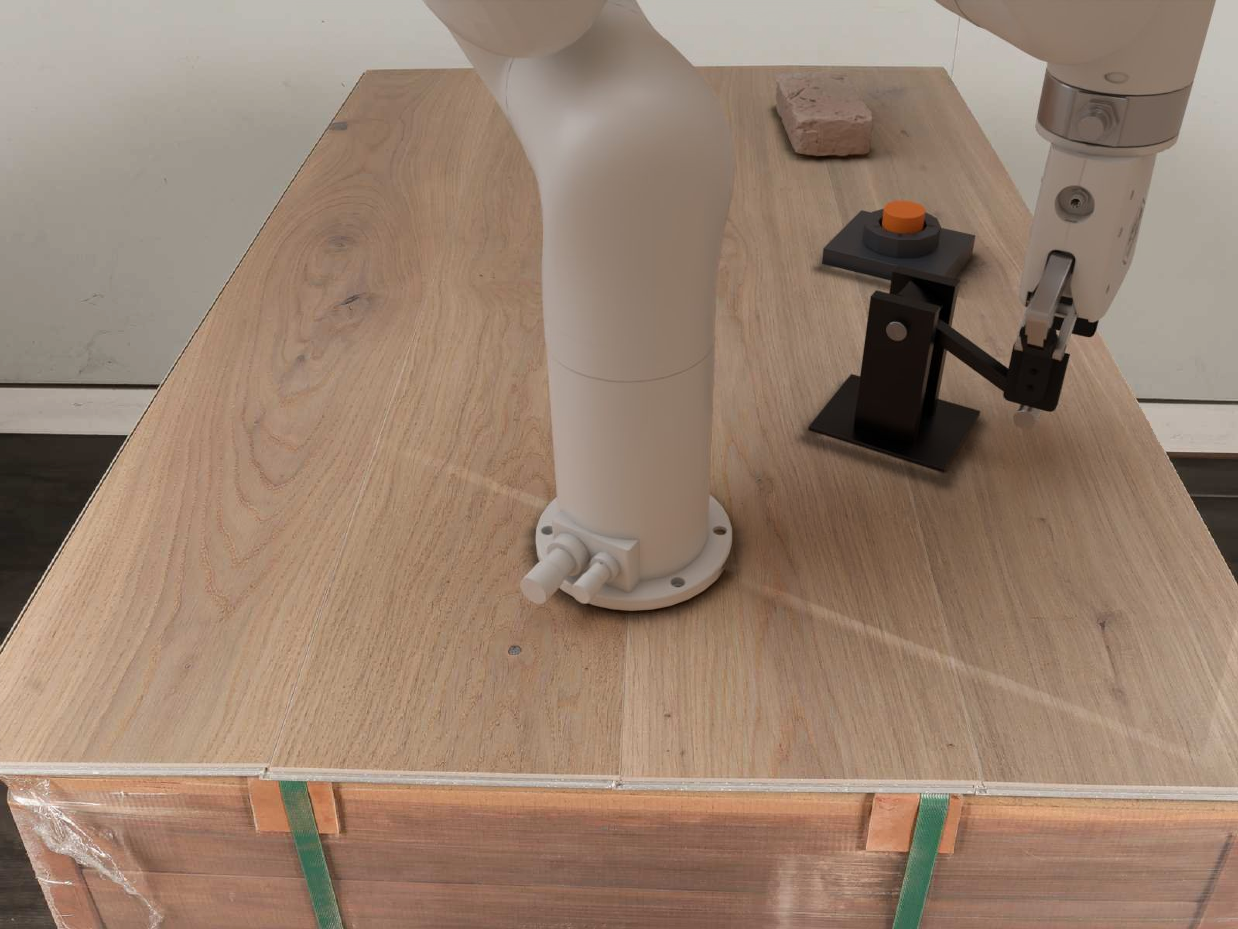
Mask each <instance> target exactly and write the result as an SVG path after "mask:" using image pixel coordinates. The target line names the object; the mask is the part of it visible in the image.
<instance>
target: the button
mask: <svg viewBox="0 0 1238 929" xmlns="http://www.w3.org/2000/svg"><path fill="white" fill-rule="evenodd" d="M883 209H884V211H883V219H882V228H884V229H886V230H888V231H891V232H896V233H900V234H913V233H916V232H920V231H922V230H923V225H924V218H925V212H926V208H925V206H923V205H921V204H920V203H917V202H914V201H909V200H894V201H890V202H887V203H886V204H885V205H884V207H883ZM926 213H927V212H926Z"/></svg>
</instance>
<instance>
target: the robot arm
mask: <svg viewBox="0 0 1238 929" xmlns="http://www.w3.org/2000/svg"><path fill="white" fill-rule="evenodd" d="M422 1H423V3H424V5H425V6H426V7H427V8H428V9H429V10H430V11H431V12H432V14H434V16H435V17H436V18H437V19H438V20H439V21H440V22H441V23H442V24H443V25H444V26H445V27H446V28H447V30H448V31H449V33H450V35H451V36H452V37H453V39H454V41H455V42H456V43H457V45H458V47H459V48H460V50H461V52H463V54H464V56H465V58H467V60H468V62H469V63H470V65H471V66H472V67H473V69H474V71H475V72H476V73H477V75H478V77H479V78H480V79H481V81H482V83H483V84H484V86H485V87H486V88H487V90H488V91H489V93H490V95H491V96H492V97H493V99H494V100H495V102H496V104H497V105H498V107H499V108H500V110H501V111H502V113H503V115H504V116H505V118H506V119H507V121H508V123H509V124H510V126H511V128H512V130H513V131H514V134H515V135H516V137H517V138H518V141H519V143H520V145H521V147H522V148H523V151H524V154H525V156H526V158H527V162H528V163H529V165H530V167H531V169H532V170H533V173H534V176H535V179H536V182H537V187H538V192H539V198H540V205H541V216H542V251H541V252H542V254H541V297H542V298H541V300H542V316H543V318H542V320H543V332H544V343H545V349H546V351H545V352H546V363H547V364H546V365H547V376H548V377H547V378H548V391H549V392H548V393H549V405H550V406H549V407H550V420H551V434H552V447H553V448H552V449H553V460H554V461H553V462H554V474H555V475H554V476H555V489H556V496H555V498H553V500H552V501H550V502H549V504H547V506H546V507H545V509H544V510H543V511H542V513H541V515H540V517H539V520H538V522H537V525H536V528H535V547H536V548H535V549H536V558H537V559H538V562H537V563H536V564H535V565H534V566H533V567H532V568H531V569H530V571H529V572H528V573H527V574H526V575H525V576H524V577H523V578H521V580H520V582H519V589H520V591H521V592H522V595H523V596H524V597H525V598H526V599H527V600H528V601H530V602H531V603H533V604H535V605H544V604H546V602H548V600H550V598H551V597H552V596H553V595H554V594H555V593H556V592H557V591H558V590H559V589H560V590H561V591H563V592H564V593H566V594H567V595H569V596H571V597H573V598H574V600H576V601H577V602H579V603H580V604H583V605H587V604H589V605H591V606H595V607H600V608H605V609H610V610H617V611H629V612H633V611H634V612H635V611H649V610H657V609H661V608H666V607H671V606H674V605H676V604H679V603H682V602H685V601H688V600H691V599H692V598H693V597H696V596H697V595H699V594H700V593H702V592H704V591H705V590H707V589H708V588H709V587H710V586H711V585H713V584H714V583H715V582H716V581H717V580H718V579H719V578H720V576H721V575H722V574H723V572H724V571H725V568H723V566H724V565H725V563H726V561H727V559H728V558H729V556H730V553H731V549H732V545H733V527H732V524H731V521H730V517H729V514H727V511H726V510H725V508H724V507H723V505H722V504H721V503H720V502H719V501H718V500H717V499H716V498H715V497H714V496H713V495H712V494H711V470H712V469H711V468H712V467H711V466H712V442H713V439H712V438H713V415H714V414H713V412H714V389H715V388H714V387H715V386H714V385H715V384H714V383H715V355H716V314H717V292H718V282H719V271H720V270H719V269H720V261H721V253H722V249H723V241H724V236H725V232H726V227H727V222H728V219H729V213H730V209H731V205H732V199H733V192H734V186H735V177H736V176H735V175H736V154H735V147H734V145H735V144H734V139H733V135H732V130H731V127H730V124H729V121H728V117H727V115H726V113H725V111H724V107H722V103H721V102H720V100H719V98H718V96H717V95H716V93H715V91H714V90H713V88H712V87H711V85H710V84H709V83H708V81H707V79H706V78H705V77H704V76H703V75H702V74H701V72H700V71H699V70H698V69H697V68H696V67H695V66H694V65H693V64H692V62H690V61H689V60H688V59H687V57H686V56H684V55H683V53H681V51H680V50H678V48H676V47H675V45H673V44H672V43H671V42H670V41H669V40H668V39H666V38H665V37H664V36H663V35H661V33H660V32H659V31H658V30H657V29H656V28H655V27H654V26H653V25H652V23H651V21H650V20H649V19H648V18H647V16H646V14H645V13H644V11H643V9H642V7H641V6H640V4H639V2H638V1H637V0H422ZM934 2H936V3H937V4H938V5H939V6H941V7H942V8H944V9H946V10H947V11H950V12H951V13H953V14H955V15H957V16H958V17H960V18H962V19H963V20H965V21H967V22H969V23H970V24H972V25H974V26H976V27H978V28H980V29H984V30H986V31H987V32H989V33H990V34H993V35H995V37H998V38H1000V39H1001V40H1002V41H1005V42H1007V44H1010V45H1011V46H1013V47H1014V48H1016V49H1018V50H1020V51H1022V52H1023V53H1025V54H1027V55H1028V56H1031V57H1033V58H1034V59H1036V60H1039V61H1041V62H1045V63H1046V67H1045V73H1044V77H1043V82H1042V88H1041V94H1040V99H1039V104H1038V108H1037V114H1036V120H1035V126H1034V128H1035V131H1036V132H1037V134H1038V135H1039V136H1040V137H1041V138H1042V139H1044V140H1046V141H1047V142H1049V143H1050V145H1049V150H1048V153H1047V157H1046V162H1045V165H1044V170H1043V174H1042V176H1041V178H1040V186H1039V190H1038V196H1037V200H1036V203H1035V208H1034V214H1033V218H1032V222H1031V226H1030V230H1029V235H1028V240H1027V245H1026V250H1025V255H1024V260H1023V265H1022V270H1021V277H1020V281H1019V282H1020V283H1019V291H1018V299H1019V301H1020V303H1021V304H1022V305H1023V306H1024V307H1025V311H1024V314H1023V317H1022V320H1021V323H1020V326H1019V329H1018V333H1017V335H1016V338H1015V341H1014V343H1013V344H1012V349H1011V353H1010V354H1011V355H1010V360H1009V363H1008V364H1009V365H1008V373H1007V378H1006V383H1005V388H1004V392H1003V393H1002V397H1003V399H1004V400H1005V401H1007V402H1010V403H1015V404H1018V405H1020V404H1021V405H1025V406H1029V407H1032V408H1036V409H1040V410H1043V412H1046V413H1047V412H1048V413H1052V412H1054V411H1056V409H1057V408H1058V405H1059V402H1060V397H1061V393H1062V389H1063V386H1064V381H1065V376H1066V374H1067V369H1068V365H1069V360H1070V356H1071V353H1067V351H1066V350H1067V347H1068V345H1069V342H1070V339H1071V336H1072V335H1075V336H1080V337H1084V338H1092V337H1094V336H1095V334H1096V332H1097V329H1098V326H1099V321H1100V320H1101V319H1102V318H1104V317H1105V316H1106V314H1107V313H1108V310H1109V309H1110V307H1111V305H1112V303H1113V301H1114V299H1115V298H1116V296H1117V294H1118V292H1119V290H1120V288H1121V286H1122V285H1123V282H1124V280H1125V279H1126V276H1127V275H1128V272H1129V270H1130V267H1131V264H1132V262H1133V260H1134V256H1135V252H1136V247H1137V243H1138V239H1139V233H1140V229H1141V225H1142V220H1143V217H1144V212H1145V207H1146V203H1147V200H1148V196H1149V191H1150V187H1151V183H1152V179H1153V173H1154V171H1155V170H1154V169H1155V165H1156V160H1157V155H1158V154H1159V153H1162V152H1164V151H1166V150H1169V149H1171V148H1172V147H1174V146H1175V145H1176V144H1177V142H1178V139H1179V136H1180V133H1181V132H1180V131H1181V128H1182V125H1183V121H1184V117H1185V115H1186V110H1187V107H1188V103H1189V99H1190V96H1191V93H1192V89H1193V85H1194V81H1195V77H1196V74H1197V71H1198V67H1199V64H1200V60H1201V57H1202V52H1203V49H1204V46H1205V43H1206V42H1205V41H1206V38H1207V35H1208V31H1209V27H1210V24H1211V20H1212V17H1213V13H1214V9H1215V5H1216V2H1217V0H934ZM1057 331H1059V333H1058V332H1057ZM719 530H720V531H723V532H725V533H723V534H717V533H715V532H716V531H719Z"/></svg>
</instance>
